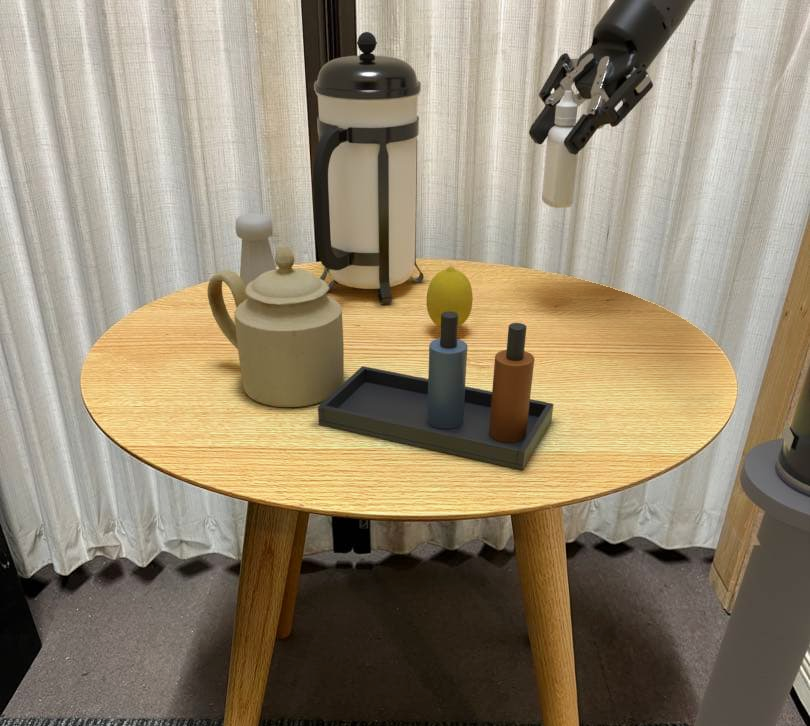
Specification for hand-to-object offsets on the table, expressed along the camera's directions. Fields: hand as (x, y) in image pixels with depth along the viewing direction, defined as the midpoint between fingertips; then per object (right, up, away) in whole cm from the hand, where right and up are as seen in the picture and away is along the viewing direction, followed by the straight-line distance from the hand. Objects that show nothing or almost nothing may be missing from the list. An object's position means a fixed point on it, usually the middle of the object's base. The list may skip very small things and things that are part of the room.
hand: (551, 143), depth 95 cm
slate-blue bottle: (-13, -34, -13) cm, 38 cm away
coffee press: (-22, -12, +18) cm, 30 cm away
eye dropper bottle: (+2, -5, +5) cm, 7 cm away
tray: (-14, -34, -12) cm, 39 cm away
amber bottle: (-7, -35, -15) cm, 39 cm away
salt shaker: (-35, -19, +8) cm, 40 cm away
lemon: (-12, -20, +6) cm, 24 cm away
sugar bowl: (-31, -29, -5) cm, 43 cm away
